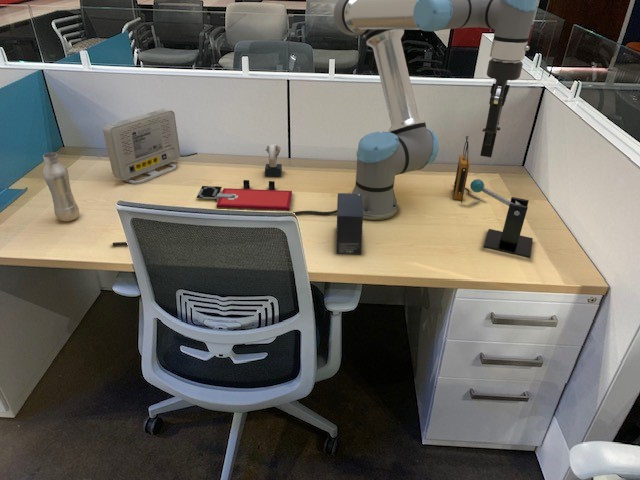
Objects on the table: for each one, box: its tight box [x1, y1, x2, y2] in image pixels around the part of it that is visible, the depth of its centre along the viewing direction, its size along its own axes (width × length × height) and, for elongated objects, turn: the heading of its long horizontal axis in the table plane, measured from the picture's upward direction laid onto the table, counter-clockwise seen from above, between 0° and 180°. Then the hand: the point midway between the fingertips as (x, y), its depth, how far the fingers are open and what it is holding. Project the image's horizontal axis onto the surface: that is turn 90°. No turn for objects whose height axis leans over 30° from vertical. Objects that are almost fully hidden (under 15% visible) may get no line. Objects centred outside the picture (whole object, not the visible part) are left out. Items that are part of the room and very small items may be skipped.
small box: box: [336, 192, 364, 255], centre depth 130 cm, size 13×7×12 cm, turn 178°
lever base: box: [483, 196, 534, 259], centre depth 129 cm, size 12×10×14 cm
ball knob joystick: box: [469, 178, 525, 207], centre depth 127 cm, size 15×4×4 cm, turn 66°
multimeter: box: [452, 135, 485, 205], centre depth 153 cm, size 15×10×20 cm
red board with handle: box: [196, 179, 293, 211], centre depth 154 cm, size 30×3×15 cm
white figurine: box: [264, 143, 283, 178], centre depth 168 cm, size 6×8×11 cm
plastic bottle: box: [42, 152, 80, 222], centre depth 136 cm, size 6×7×20 cm
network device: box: [102, 108, 181, 185], centre depth 164 cm, size 26×9×20 cm, turn 144°
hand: (485, 155), depth 123 cm, fingers closed
